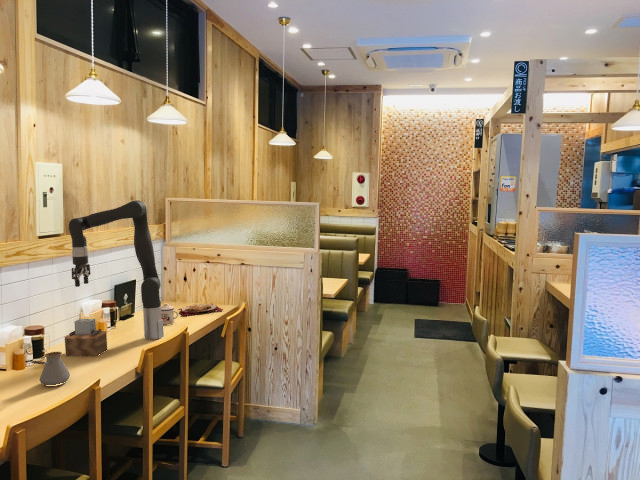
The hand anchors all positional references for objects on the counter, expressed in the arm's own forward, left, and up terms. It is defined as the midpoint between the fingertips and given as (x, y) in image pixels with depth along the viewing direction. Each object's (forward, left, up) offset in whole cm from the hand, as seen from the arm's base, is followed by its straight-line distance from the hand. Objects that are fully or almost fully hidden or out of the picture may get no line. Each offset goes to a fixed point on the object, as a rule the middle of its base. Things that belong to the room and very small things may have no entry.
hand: (82, 285), depth 273 cm
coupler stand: (-13, +22, -30) cm, 39 cm away
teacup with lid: (-33, -36, -30) cm, 57 cm away
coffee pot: (-21, +66, -30) cm, 76 cm away
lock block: (-13, +22, -20) cm, 33 cm away
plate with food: (-41, -67, -31) cm, 85 cm away
